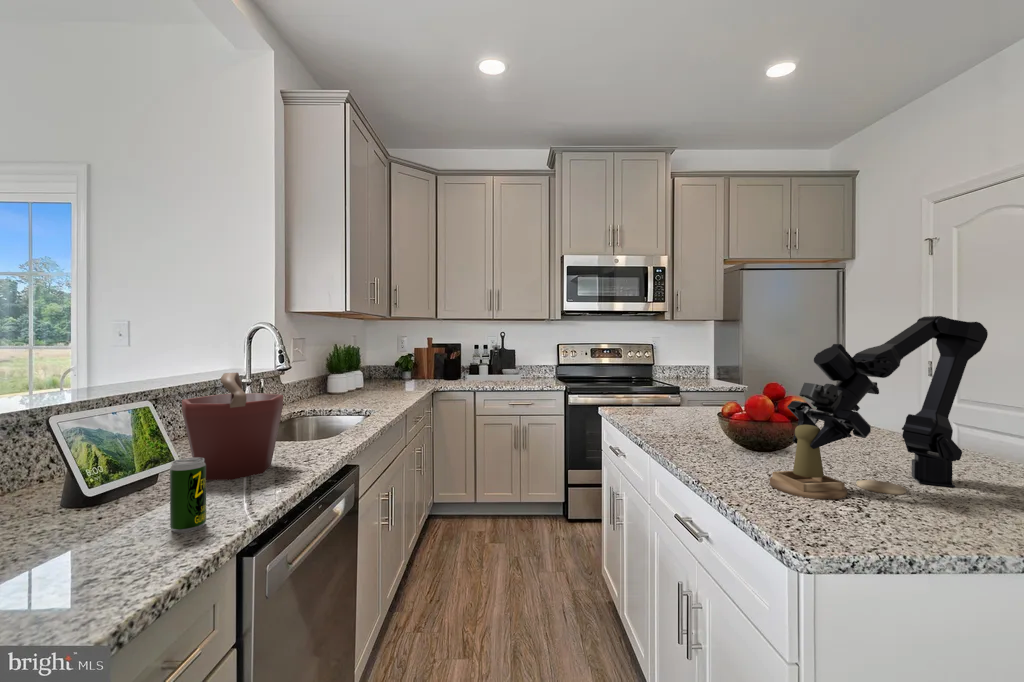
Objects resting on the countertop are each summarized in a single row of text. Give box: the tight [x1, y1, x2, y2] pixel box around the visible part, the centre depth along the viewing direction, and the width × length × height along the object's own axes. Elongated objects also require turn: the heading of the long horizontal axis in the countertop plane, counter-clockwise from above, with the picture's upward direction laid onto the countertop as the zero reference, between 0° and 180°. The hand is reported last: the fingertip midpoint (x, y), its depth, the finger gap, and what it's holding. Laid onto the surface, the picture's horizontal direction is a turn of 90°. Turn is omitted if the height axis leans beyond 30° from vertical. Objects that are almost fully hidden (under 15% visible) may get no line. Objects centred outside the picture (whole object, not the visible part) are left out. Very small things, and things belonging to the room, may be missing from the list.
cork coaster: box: [856, 479, 907, 495], centre depth 110 cm, size 9×9×1 cm
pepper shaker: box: [792, 425, 825, 478], centre depth 109 cm, size 6×6×11 cm
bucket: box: [181, 372, 284, 481], centre depth 122 cm, size 24×22×25 cm
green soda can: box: [169, 457, 207, 534], centre depth 86 cm, size 5×5×12 cm
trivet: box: [769, 470, 848, 500], centre depth 109 cm, size 15×15×3 cm
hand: (802, 444), depth 109 cm, fingers closed on pepper shaker, 5 cm apart
